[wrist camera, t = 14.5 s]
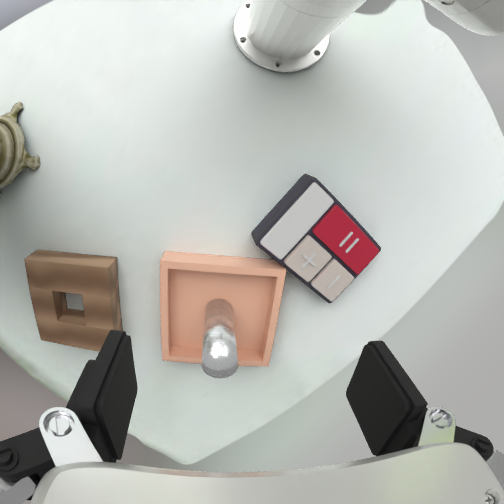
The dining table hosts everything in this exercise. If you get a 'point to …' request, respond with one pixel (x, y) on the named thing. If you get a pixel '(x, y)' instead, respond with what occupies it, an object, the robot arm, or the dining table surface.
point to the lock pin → (219, 340)
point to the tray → (224, 287)
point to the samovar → (13, 148)
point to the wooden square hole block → (77, 282)
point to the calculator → (316, 238)
